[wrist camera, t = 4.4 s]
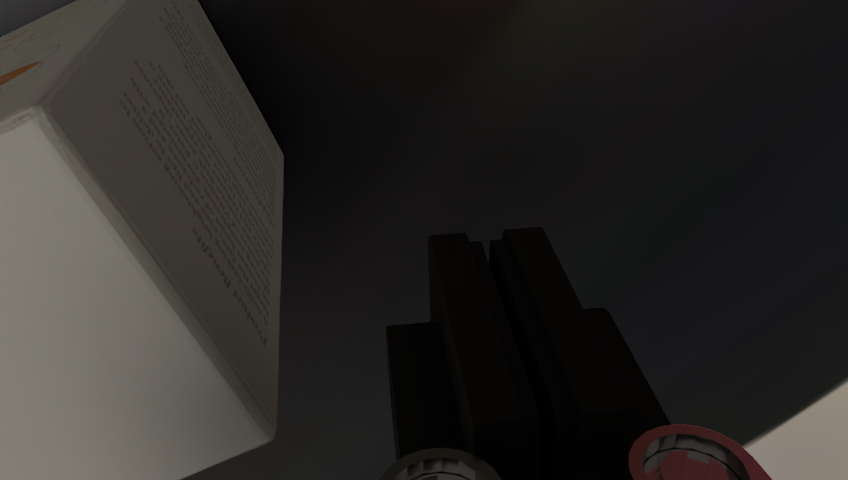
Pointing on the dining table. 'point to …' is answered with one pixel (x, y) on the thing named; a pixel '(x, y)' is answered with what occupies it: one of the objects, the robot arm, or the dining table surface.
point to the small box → (134, 247)
